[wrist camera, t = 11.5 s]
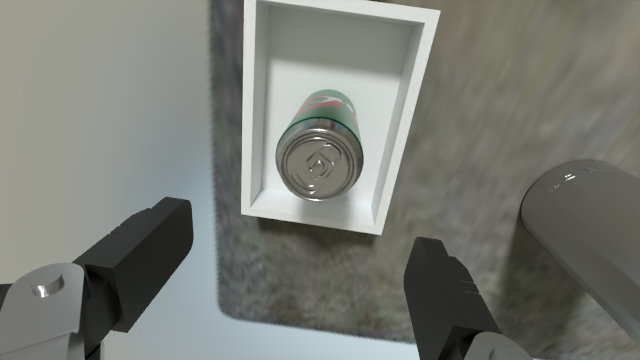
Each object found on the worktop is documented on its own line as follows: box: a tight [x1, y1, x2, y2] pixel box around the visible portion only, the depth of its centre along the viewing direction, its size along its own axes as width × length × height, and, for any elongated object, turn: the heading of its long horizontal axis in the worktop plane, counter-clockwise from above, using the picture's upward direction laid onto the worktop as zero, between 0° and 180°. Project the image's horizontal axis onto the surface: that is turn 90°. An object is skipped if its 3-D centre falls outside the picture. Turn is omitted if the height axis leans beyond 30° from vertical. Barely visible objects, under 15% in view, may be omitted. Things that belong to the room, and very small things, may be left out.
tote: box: [241, 0, 440, 235], centre depth 25 cm, size 13×18×4 cm
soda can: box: [275, 89, 364, 203], centre depth 21 cm, size 5×5×12 cm
